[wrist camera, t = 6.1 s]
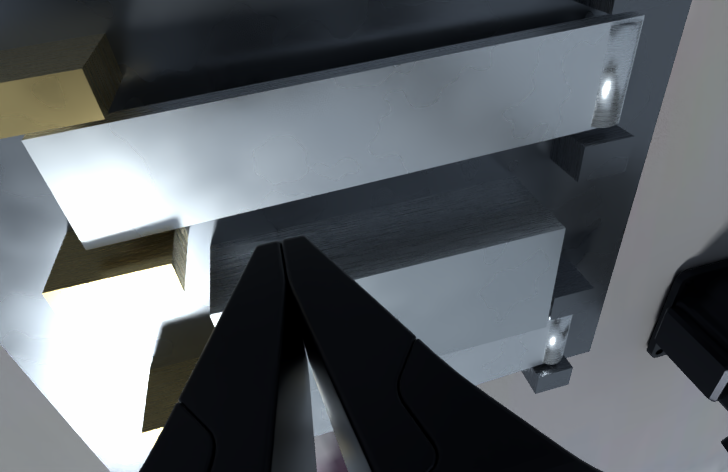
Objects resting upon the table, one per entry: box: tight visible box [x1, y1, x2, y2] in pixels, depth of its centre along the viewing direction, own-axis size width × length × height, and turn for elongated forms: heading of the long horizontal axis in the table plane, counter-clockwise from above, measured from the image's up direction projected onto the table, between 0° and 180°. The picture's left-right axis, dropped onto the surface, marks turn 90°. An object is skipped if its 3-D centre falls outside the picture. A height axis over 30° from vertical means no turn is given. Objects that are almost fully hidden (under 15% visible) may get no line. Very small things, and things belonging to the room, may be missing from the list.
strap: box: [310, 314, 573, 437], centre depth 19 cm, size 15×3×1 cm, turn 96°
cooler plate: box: [0, 0, 692, 472], centre depth 16 cm, size 22×19×5 cm
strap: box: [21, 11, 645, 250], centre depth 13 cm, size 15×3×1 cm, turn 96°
